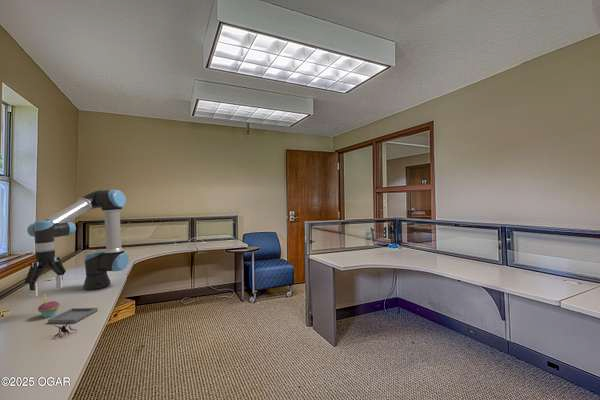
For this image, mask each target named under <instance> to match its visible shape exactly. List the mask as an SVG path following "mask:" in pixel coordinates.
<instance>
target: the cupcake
mask: <svg viewBox="0 0 600 400" xmlns="http://www.w3.org/2000/svg"><path fill="white" fill-rule="evenodd" d="M43 298H44V303H42V304H41V305H39V306H38V308H37V310H38V312H39V313H40V314H41V315H42V317H43V318H44V319H46V318H53V317H55V316H56V314H57V311H58V309H59V308H60V305H61V304H60V303H59V302H58V301H47V296H46V294H45V293H44V292H43Z"/></svg>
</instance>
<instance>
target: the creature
mask: <svg viewBox="0 0 600 400" xmlns="http://www.w3.org/2000/svg"><path fill="white" fill-rule="evenodd" d="M65 324H66V325H62V326H61V327H60V326H58V325H55V327H56V328H58V333H57V334H56V336H59V335H60V334H61V333H63V334H64V335H65V337H69V336H70V334H72V335H73V334H74V333H71V332H70V331H69V330H71V331H75V333H77V332H78V330H75V328H71V325H69V323H65ZM67 326H68V328H67ZM68 329H69V330H68ZM56 336H54V337H53V338H54V340H56ZM61 337H63V336H62V335H60V337H58V339H57V340H59V339H60V338H61Z"/></svg>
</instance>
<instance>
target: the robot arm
mask: <svg viewBox="0 0 600 400" xmlns="http://www.w3.org/2000/svg"><path fill="white" fill-rule="evenodd" d="M126 198H127V197H126V196H125V194H124V193H123V192H122V191H121V190H119V189H103V190H102V189H101V190H94V191H91V192H89V193H87V194H85V195H83V196H82V197H80V198H78V199H77V201H76V202H74V203H72V204H71V205H69V206H66V207H65V208H63V209H62V210H60V211H58V212H56V213H55V214H53V215H51V216H49V217H48V218H46V219H44V220H37V221H34V222H33V223H31V224H29V226H27V230H26V232H27V234H28V235H29V237H34V249H35V253H34V254H35V259H36V262H30V266H29V270H28V272H27V275H26V277H25V280H24V284H26V285H27V284H28V285H29V286H28V287H29V291H30V297H31V298H32V297H35V298H36V297H38V295H39V294H38V292H39V291H38V282H37V280H38V279H39V277H40V275H41V274H42V273H43V272H44V271H45V270H47V269H51V270H52V271H53V273H55V274H56V275H55V287H56V288H58V289H59V288H60V289H61V288H63V276H64V275H65V273H67V270H66V269H65V267H64V265H63V263H62V261H61V257H59V256H58V257H57V256H56V250H54V249H55V248H56V247H55V246H56V245H55V238H60V237H68V236H71V235H74V234H75V233H76V230H77V227H76V224H75V223H74V222H72V220H73V219H76V218H77V217H78V216H80V215H83V213H85V212H90V211H92V210H94V209H101V212H103V213H104V230H105V248H106V249H105V250H101V251H96V252H91V253H88V254H86V255H85V256H84V265H85V266H84V267H85V280H84V282H83V286H82V287H83V290H85V291H93V290H94V291H95V290H99V289H104V288H106V287H109V286H111V279H110V278H109V277H110V276H109V275H108V272H119V271H120V272H121V271H123V270H124V269H126V268H127V266H128V264H129V260H130V258H129V255H128V254H127V252H126V253H125V248H123V247H122V234H121V233H122V231H121V215H120V214H121V212H122V210H123V207H124V206H125V205H126V203H127V199H126Z"/></svg>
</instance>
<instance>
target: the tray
mask: <svg viewBox="0 0 600 400" xmlns="http://www.w3.org/2000/svg"><path fill="white" fill-rule="evenodd" d="M98 311H99V310H98V307H72V308H69V309H68V310H66V311H63V312H61V313H60V314H57V315H54V316H52V317H50V318H49V319H47V324H50V323H54V324H77V323H79V322H80V320H81V321H82V320H84V319H85V318H87V317H89V316H91V315H93V314H96V313H97V312H98Z"/></svg>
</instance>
